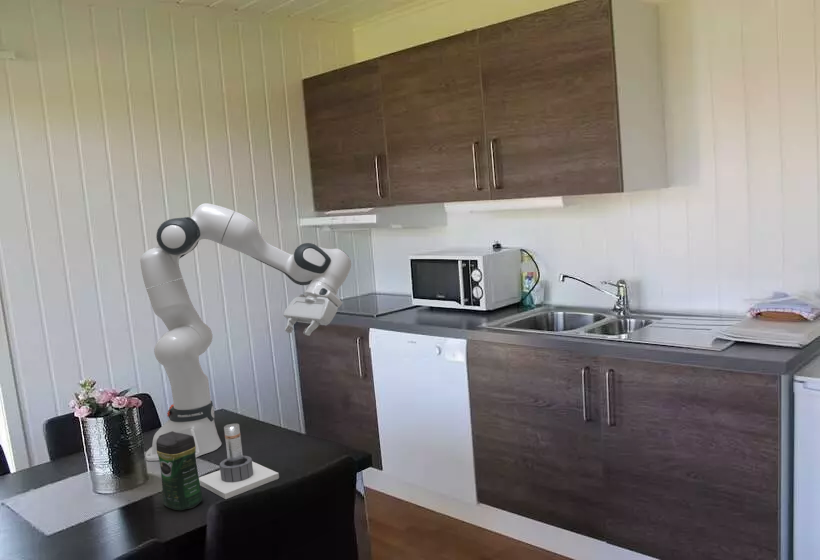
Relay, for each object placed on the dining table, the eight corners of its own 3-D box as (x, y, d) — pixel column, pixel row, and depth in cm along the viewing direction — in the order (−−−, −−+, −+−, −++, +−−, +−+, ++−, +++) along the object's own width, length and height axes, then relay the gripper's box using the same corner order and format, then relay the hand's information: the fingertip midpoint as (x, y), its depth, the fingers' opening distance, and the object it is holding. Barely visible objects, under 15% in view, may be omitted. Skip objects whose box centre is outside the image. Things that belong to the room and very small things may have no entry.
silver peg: (228, 479, 188) (222, 429, 186) (231, 473, 192) (225, 424, 190) (243, 477, 188) (238, 427, 186) (246, 471, 192) (240, 422, 190)
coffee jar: (208, 501, 179) (199, 431, 176) (181, 514, 172) (172, 442, 170) (185, 494, 184) (176, 426, 182) (158, 506, 178) (149, 436, 176)
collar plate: (225, 499, 179) (223, 478, 178) (197, 483, 191) (194, 464, 190) (279, 478, 190) (276, 458, 189) (249, 464, 201) (246, 446, 201)
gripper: (292, 288, 222) (270, 324, 217) (333, 291, 208) (309, 330, 202) (305, 300, 226) (283, 335, 221) (346, 303, 212) (323, 342, 206)
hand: (296, 333), depth 211 cm, fingers open, 8 cm apart
